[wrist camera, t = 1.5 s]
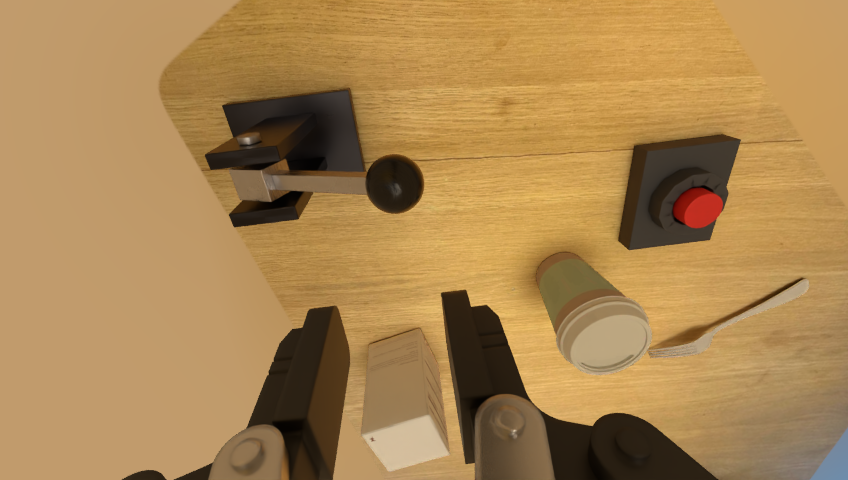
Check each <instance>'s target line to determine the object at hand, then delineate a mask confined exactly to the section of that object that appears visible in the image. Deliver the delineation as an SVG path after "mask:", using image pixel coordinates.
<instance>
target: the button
mask: <svg viewBox="0 0 848 480" xmlns="http://www.w3.org/2000/svg"><path fill="white" fill-rule="evenodd" d="M722 207H723V202H722V199H721V198H720V197H719V196H718V195H717V194H714V193H712V192H710V191H708V190H706V189H704V188H700V187H697V188H691V189H689V190H687V191H685V192H684V193H682V194H681V195H680V196H679V197H678V198H677V200H676V201H675V203H674V206H673V214H674V216H675V217H676V218H677V219H678V220H680V221H681V222H683V223H684V224H686V225H687V226H689V227H691V228H701V227H705V226H707V225H709V224H710V223H712V222H713V221H714V220H715V219H716V218H717V217H718V216H719V214H720V213H721V211H722Z"/></svg>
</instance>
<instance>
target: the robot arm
mask: <svg viewBox="0 0 848 480" xmlns="http://www.w3.org/2000/svg"><path fill="white" fill-rule="evenodd" d="M441 297H442V307H443V316H444V325H445V335H446V343H447V350H448V356H449V363H450V369H451V375H452V382H453V388H454V394H455V400H456V407H457V413H458V419H459V426H460V432H461V438H462V445H463V451H464V457H465V463H466V464H470V463H475V480H718V479H717V478H716V477H714V476H713V475H712V474H711V473H710V472H708V471H707V470H706V469H705V468H704V467H702V466H701V465H700V464H699V463H698V462H696V461H695V460H694V459H693V458H692V457H690V456H689V455H688V454H687V453H686V452H684V451H683V450H682V449H681V448H680V447H678V446H677V445H676V444H675V443H674V442H672V441H671V440H670V439H669V438H668V437H666V436H665V435H664V434H663V433H662V432H660V431H659V430H658V429H657V428H655V427H654V426H653V425H651V424H650V423H648V422H647V421H645V420H643V419H641V418H639V417H636V416H633V415H630V414H624V413H611V414H607V415H604V416H602V417H601V418H599V419H598V420H597V421H596V422H595V424H594V425H593V426H588V425H582V424H577V423H571V422H566V421H562V420H558V419H556V418H553V417H551V416H549V415H547V414H545V413H544V412H542V411H541V410H540V409H538V408H537V407H536V406H535V405H534V404H533V403H532V401H531V400H530V399H529V397H528V395H527V393H526V391H525V388H524V385H523V382H522V380H521V377H520V374H519V371H518V369H517V366H516V363H515V360H514V358H513V355H512V352H511V349H510V347H509V345H508V341H507V338H506V336H505V333H504V330H503V327H502V325H501V322H500V319H499V316H498V315H497V314H496V313H495V312H493V311H492V310H491V309H490V308H489V307H488V306H487V305H483V306H475V307H471V306H470V302H469V298H468V295H467V291H466V290H459V291H451V292H443V293H441ZM349 367H350V352H349V345H348V341H347V338H346V334H345V331H344V327H343V324H342V320H341V317H340V313H339V310H338V308H337V306H330V307H322V308H314V309H310V310H309V311H308V313H307V316H306V319H305V322H304V325H303V328H298V329H292V330H291V331H290V332H289V333H288V335H287V336H286V337H285V338H284V339H283V340H282V341H281V343H280V344H279V347H278V349H277V352H276V355H275V357H274V362H272V365H271V367H270V370H269V375H268V376H267V378H266V380H265V382H264V385H263V388H262V390H261V393H260V395H259V398H258V400H257V403H256V406H255V408H254V411H253V413H252V416H251V418H250V421H249V424H248V426H247V428H246V429H245V430H243V431H241V432H239V433H238V434H236V435H235V436H233V437H232V438H231V439H230V440H229V441H228V442H227V443H226V444H225V445H224V446H223V447H222V448H221V450H220V451H219V453H218V454H217V456H216V458H215V460H214V462H213V463H211V464H209V465H207V466H205V467H203V468H200V469H198V470H196V471H193V472H191V473H189V474H186V475H184V476H182V477H179V478H177V479H174V480H333V473H334V467H335V460H336V454H337V447H338V440H339V434H340V427H341V420H342V413H343V407H344V400H345V393H346V387H347V380H348V373H349ZM122 480H166V479H165V477H164V476H163V475H162V474H161V473H159V472H157V471H154V470H146V471H141V472H137V473H134V474H132V475H130V476H128V477H126V478H124V479H122Z"/></svg>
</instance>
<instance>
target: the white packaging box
mask: <svg viewBox="0 0 848 480" xmlns="http://www.w3.org/2000/svg"><path fill="white" fill-rule="evenodd" d="M361 436H362V437H363V438H364V439H365V441H366V442H367V444H368V445H369V446H370V448H371V449H372V450H373V452H374V453H375V454H376V456H377V457H378V458H379V460H380V461H381V462H382V463H383V465H384V466H385V468H386V469H387V470H388V471H389V472H391V471H395V470H398V469H402V468H405V467H408V466H412V465H415V464H419V463H422V462H426V461H429V460H433V459H437V458H440V457H444V456H448V455H450V450H449V442H448V435H447V427H446V420H445V413H444V405H443V397H442V389H441V381H440V372H439V366H438V363H437V362H436V360H435V358H434V356H433V353H432V352H431V350H430V347H429V345H428V343H427V341H426V339H425V337H424V335H423V333H422V331H421V329H420V328H418V329H415V330H412V331H409V332H406V333H403V334H400V335H397V336H394V337H391V338H388V339H385V340H382V341H379V342H376V343H372V344H370V345H369V350H368V362H367V373H366V384H365V396H364V407H363V418H362V429H361Z"/></svg>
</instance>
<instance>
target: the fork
mask: <svg viewBox="0 0 848 480" xmlns="http://www.w3.org/2000/svg"><path fill="white" fill-rule="evenodd" d="M808 288H809V281H808V280H807V279H803V280H801V281H799V282H798V283H796V284H794V285H793V286H791V287H789V288H788V289H786V290H784V291H783V292H781V293H779V294H777V295H776V296H774V297H772V298H770V299H768V300H767V301H765V302H763V303H761V304H759V305H757V306H755V307H753V308H752V309H750V310H748V311H746V312H744V313H742V314H740V315H738V316H736V317H733V318H731V319H729V320H728V321H726V322H724V323H722V324H720V325H719V326H717V327H716V328H714V329H713V330H712V331H711V332H709V333H706V334H704V335H703V336H702V337H700V338H699V339H697V340H696V341H694V342H691V343H687V344H683V345H679V346H673V347H666V348H659V349H651V350H647V351H657V350H667V351H657V352H648V353H661V354H650V356H653V355H669V356H655V357H651V358H672V357H685V356H691V355H696V354H700V353H701V352H703V351H705V350H706V349H707V348H709V347H710V345H711V342H712V338H713V336H714V335H715V334H716V333H717V332H718V331H719V330H721V329H723V328H725V327H727V326H729V325H731V324H733V323H735V322H738V321H740V320H742V319H745V318H747V317H750V316H752V315H755V314H758V313H760V312H763V311H765V310H768V309H771V308H774V307H776V306H779V305H782V304H784V303H787V302H789V301H791V300H794V299H796V298H798V297H799V296H801V295H802V294H804V293H806V291H807V290H808ZM689 346H690V347H689ZM685 347H686V348H685ZM678 348H681V349H678ZM669 349H674V350H669ZM689 349H690V350H689ZM684 350H685V351H684ZM676 351H679V352H676ZM667 352H671V353H667ZM683 353H685V354H683ZM672 354H677V355H672Z"/></svg>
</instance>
